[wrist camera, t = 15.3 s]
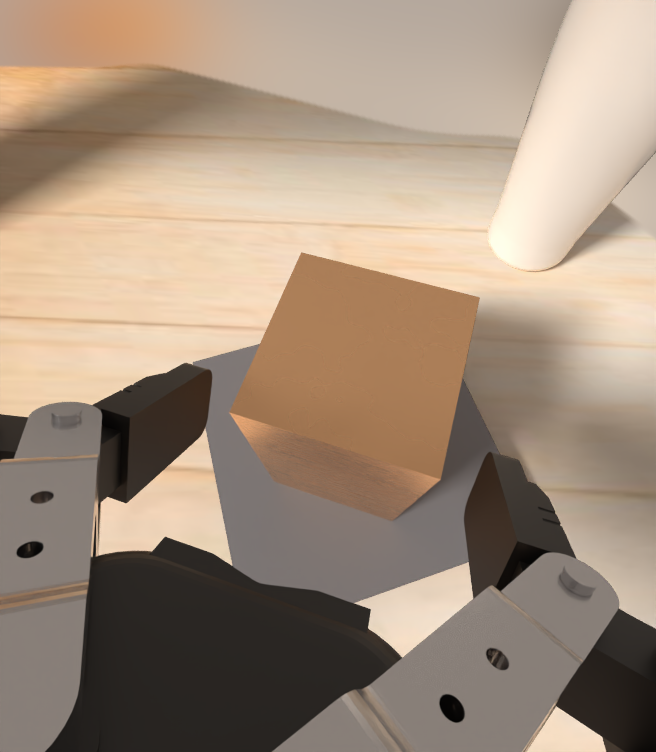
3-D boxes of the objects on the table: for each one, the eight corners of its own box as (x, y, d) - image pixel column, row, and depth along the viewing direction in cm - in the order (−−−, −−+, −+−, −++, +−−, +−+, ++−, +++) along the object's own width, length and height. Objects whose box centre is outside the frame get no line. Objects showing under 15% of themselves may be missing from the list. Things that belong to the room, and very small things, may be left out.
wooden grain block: (274, 481, 21) (229, 412, 12) (313, 376, 23) (301, 252, 14) (391, 521, 20) (440, 479, 11) (420, 408, 22) (479, 297, 13)
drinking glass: (525, 301, 27) (720, 27, 13) (453, 235, 29) (557, -54, 16) (596, 253, 29) (835, -36, 15) (522, 194, 31) (671, -101, 17)
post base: (200, 373, 25) (150, 299, 18) (419, 313, 27) (448, 225, 20) (253, 635, 19) (210, 670, 13) (526, 538, 21) (619, 523, 14)
